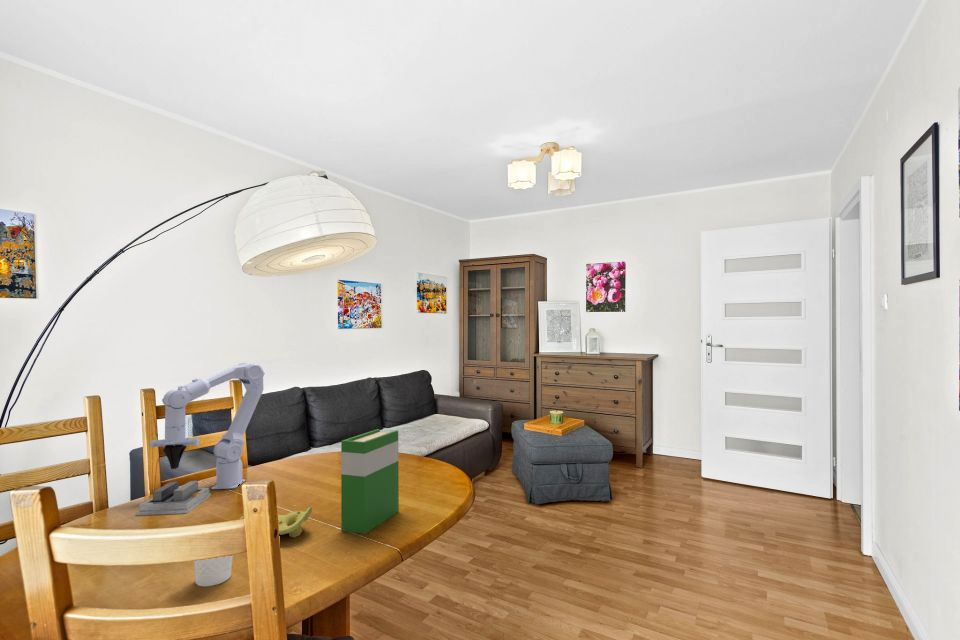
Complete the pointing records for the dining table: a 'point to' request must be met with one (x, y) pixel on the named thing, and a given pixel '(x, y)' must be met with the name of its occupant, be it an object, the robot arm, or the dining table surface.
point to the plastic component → (292, 522)
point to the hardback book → (369, 480)
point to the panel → (186, 491)
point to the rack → (171, 501)
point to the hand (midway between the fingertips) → (174, 468)
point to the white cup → (212, 570)
